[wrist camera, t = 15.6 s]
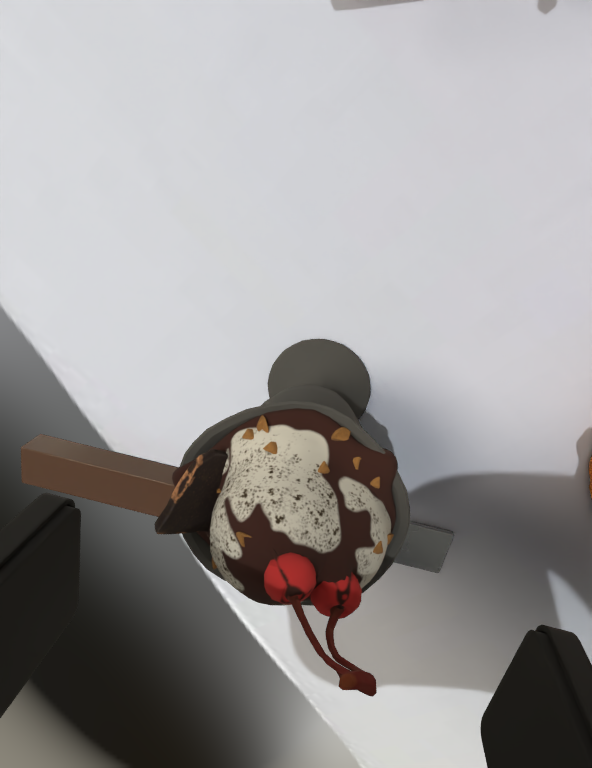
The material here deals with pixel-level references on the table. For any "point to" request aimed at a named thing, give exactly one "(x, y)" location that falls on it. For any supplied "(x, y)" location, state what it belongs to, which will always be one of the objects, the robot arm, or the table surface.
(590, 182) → the table surface
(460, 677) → the table surface
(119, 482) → the knife
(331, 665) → the sundae
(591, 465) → the croissant
